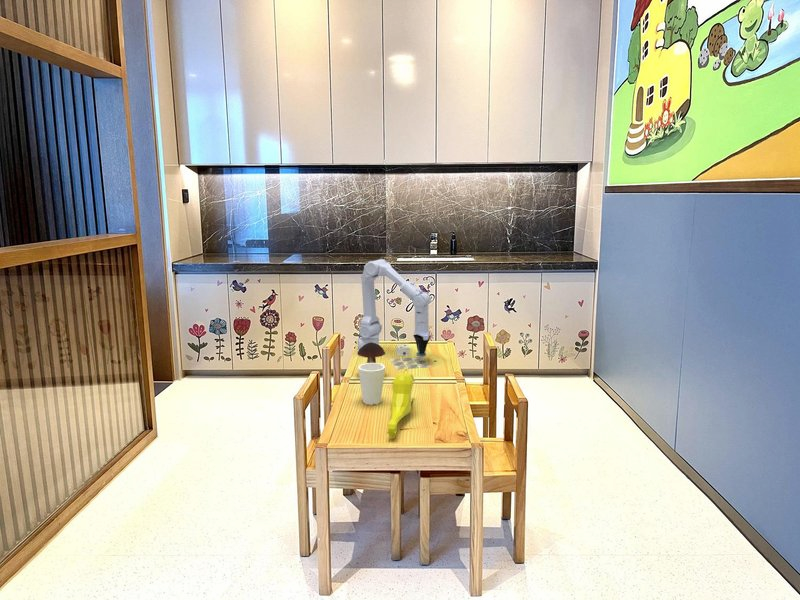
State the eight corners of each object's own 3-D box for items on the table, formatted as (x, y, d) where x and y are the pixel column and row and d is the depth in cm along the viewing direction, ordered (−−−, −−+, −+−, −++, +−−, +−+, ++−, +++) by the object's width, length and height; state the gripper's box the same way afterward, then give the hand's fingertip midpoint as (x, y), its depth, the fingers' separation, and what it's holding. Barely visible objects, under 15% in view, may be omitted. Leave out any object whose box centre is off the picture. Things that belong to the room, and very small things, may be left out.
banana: (398, 422, 206) (379, 440, 171) (400, 366, 207) (382, 373, 172) (416, 423, 204) (402, 442, 170) (419, 367, 205) (404, 374, 171)
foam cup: (358, 397, 207) (358, 363, 205) (384, 396, 208) (384, 362, 205) (358, 407, 198) (358, 371, 195) (385, 406, 198) (385, 370, 196)
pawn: (417, 356, 241) (418, 341, 240) (415, 354, 245) (415, 339, 244) (427, 356, 242) (427, 341, 241) (424, 353, 246) (424, 338, 244)
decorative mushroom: (388, 381, 223) (388, 345, 220) (361, 384, 220) (360, 347, 217) (380, 373, 233) (380, 337, 230) (354, 375, 230) (354, 340, 227)
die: (398, 359, 253) (398, 348, 252) (396, 355, 257) (396, 345, 256) (409, 358, 254) (409, 347, 253) (407, 355, 259) (407, 344, 258)
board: (396, 372, 234) (396, 369, 234) (389, 361, 249) (389, 359, 248) (431, 369, 238) (431, 367, 237) (422, 359, 252) (422, 356, 252)
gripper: (435, 324, 234) (435, 356, 237) (426, 316, 248) (425, 346, 251) (418, 325, 233) (418, 357, 235) (410, 317, 247) (410, 347, 249)
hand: (421, 352), depth 243 cm, fingers closed on pawn, 3 cm apart
